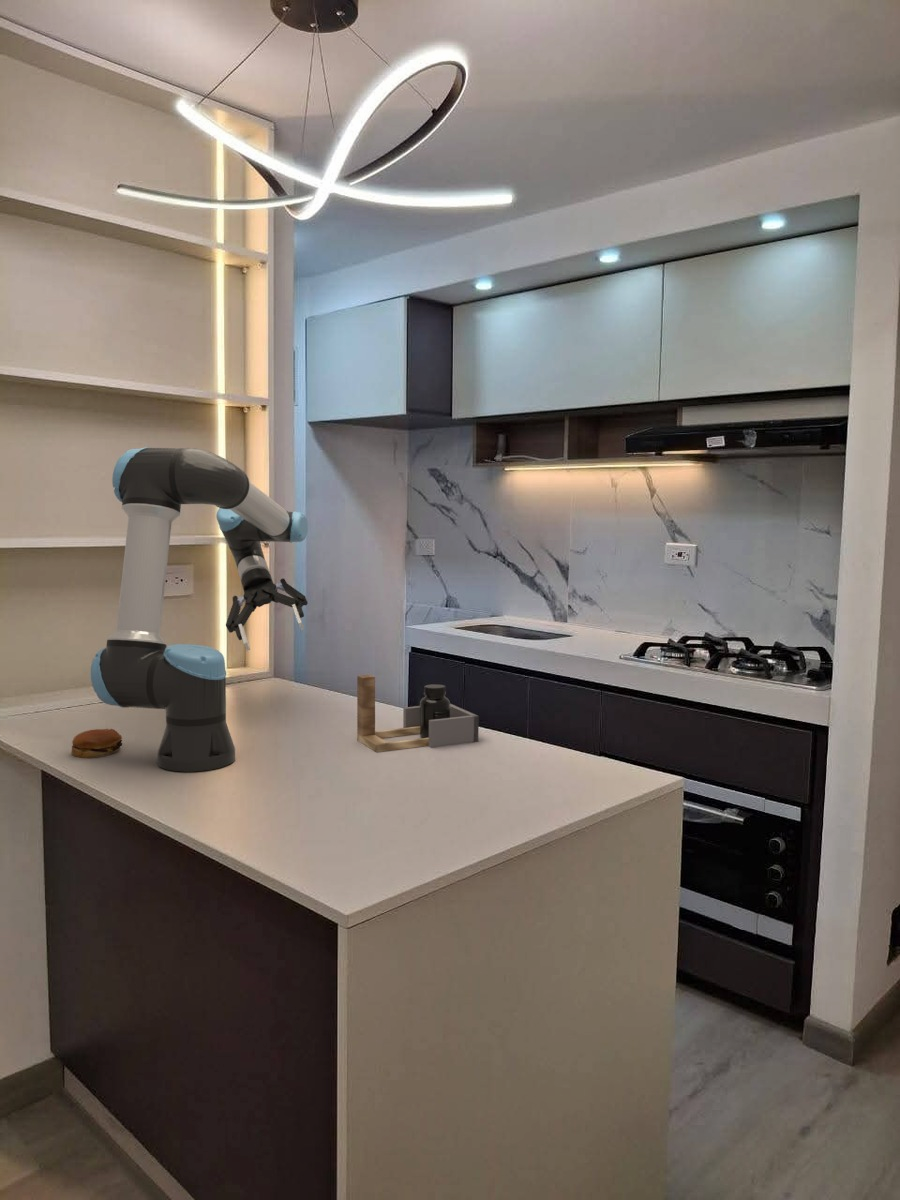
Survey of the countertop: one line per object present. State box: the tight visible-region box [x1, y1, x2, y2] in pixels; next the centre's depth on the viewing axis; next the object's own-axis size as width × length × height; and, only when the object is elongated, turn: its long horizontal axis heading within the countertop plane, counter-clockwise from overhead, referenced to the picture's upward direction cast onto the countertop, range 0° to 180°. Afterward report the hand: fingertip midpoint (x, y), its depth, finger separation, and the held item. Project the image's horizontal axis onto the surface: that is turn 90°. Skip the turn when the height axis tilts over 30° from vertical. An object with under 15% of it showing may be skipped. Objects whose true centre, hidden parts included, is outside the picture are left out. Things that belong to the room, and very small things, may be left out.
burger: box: [71, 728, 123, 759], centre depth 185 cm, size 10×9×5 cm
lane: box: [402, 703, 480, 749], centre depth 200 cm, size 12×14×6 cm
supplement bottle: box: [419, 684, 451, 739], centre depth 199 cm, size 7×7×12 cm
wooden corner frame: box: [356, 674, 429, 753], centre depth 196 cm, size 22×11×14 cm, turn 118°
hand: (274, 636), depth 212 cm, fingers open, 13 cm apart
